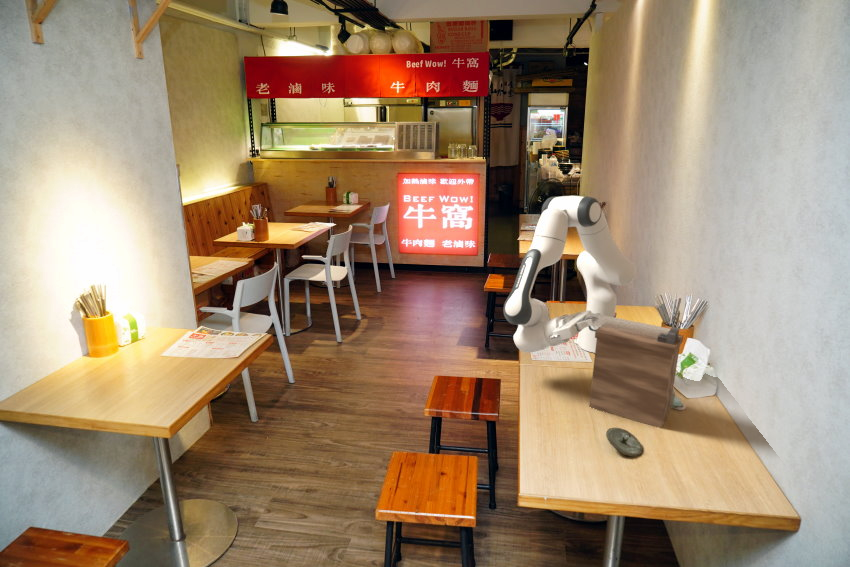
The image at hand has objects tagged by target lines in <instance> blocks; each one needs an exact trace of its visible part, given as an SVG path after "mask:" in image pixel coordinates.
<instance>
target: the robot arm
mask: <svg viewBox="0 0 850 567" xmlns="http://www.w3.org/2000/svg"><path fill="white" fill-rule="evenodd" d="M572 227H573V228H574V227H575V228H576V231H577V234H578V237H579V239H580V242H581V245H582V247H583V249H584V250H583V251H581V252H580V253H579V255H578V257H577V259H576V266H577V267H576V268H577V269H578V271H579V272H580V274H581V276H582V278H583V280H584V283H585V287H586V295H587V296H586V310H583V311H580V312H576V313H573V314H568V313H566V314H563V315H561V316H556V317H553V318H550V317H551V316H550V315H551V314H550V309H549V307H548V305H547V304H546V303H545V302H544V301H541V300H539V299H537V298H532V297H531V293H532V290H533V287H534V285H535V281H536V279H537V276H538V273H539V272H540V271H541V270H542V269H544V268H546V267H549V266H550V267H551V266H552V265H554V264H556V263H558V262H559V261H560V260H561V258H562V256H563V253H564V250H565V247H566V242H567V237H568V232H569V231H568V229H569V228H572ZM636 275H637V268H636V264H635V263H634V262H633V261H631V260H630V258H628V257H627V255H625V254H624V253H623V251H622V249H620V247H619V246H618V245H617V243H616V242H615V240H614V237H613V235H612V234H611V231H610V227H609V224H608V219H607V218H606V216H605V213H604V211H603V208H602V206H601V204H600V202H599V200H598V199H596V198H595V197H592V196H582V195H562V196H550V197H548V198H547V199H546V200H545V201H544V202H543V204H542V207H541V215H540V216H539V219H538V221H537V224H536V227H535V231H534V234H533V237H532V242H531V245H530V247H529V248H528V250H527V251H526V253H525V255H523V258H522V261H521V264H520V266H519V269H518V272H517V275H516V277H515V279H514V280H515V281H514V284H513V286H512V288H511V291H510V292H509V295H508V296H507V298H506V300H505V301H504V304H503V310H502V311H503V316H504V318H505V319H506V321H507V322H508V323H509V324H511V325H516V326H517V329H516V331H515V333H514V334H513V337H512V338H513V341H514V344H515V346H516V348H517V349H518V350H519V351H521V352H523V353H526V354H528V353H529V354H530V353H536V352H539V351H543V350H546V349H547V348H549V347H555V346H559V345H562V344H565V343H568V342H569V341H570V339H571V338H574V337H575V336H577V335H578V336H577V338H575V339H573V343H574V344H576V345H577V346H578V347H579V348H580V349H582V350H583V351H586V352H590V353H594V354H595V350H596V341H597V338H595V332H596V331H597V330H598V329H599V328H600V327H598V326H593V324H594V321H593V319H592V318H591V319H588V320H586V321H585V317H586V314H587V313H589V312H590V313H594V314H599V315H604V316H609V317H614V318H617V315H618V314H617V312H616V309H617V299H618V297H617V294H616V293H615V292H614V291H613V289H612V288H611V285H614V286H624V287H625V286H628V285H630V284H631V283H632V282H633V281H634V280H635V278H636Z"/></svg>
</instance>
